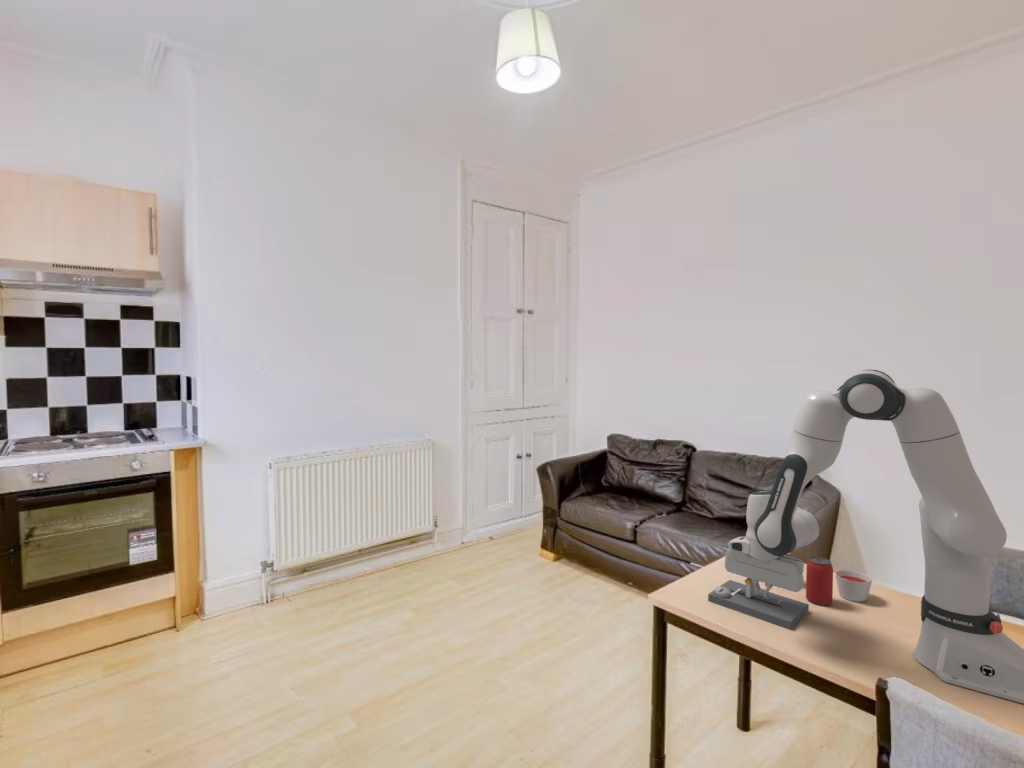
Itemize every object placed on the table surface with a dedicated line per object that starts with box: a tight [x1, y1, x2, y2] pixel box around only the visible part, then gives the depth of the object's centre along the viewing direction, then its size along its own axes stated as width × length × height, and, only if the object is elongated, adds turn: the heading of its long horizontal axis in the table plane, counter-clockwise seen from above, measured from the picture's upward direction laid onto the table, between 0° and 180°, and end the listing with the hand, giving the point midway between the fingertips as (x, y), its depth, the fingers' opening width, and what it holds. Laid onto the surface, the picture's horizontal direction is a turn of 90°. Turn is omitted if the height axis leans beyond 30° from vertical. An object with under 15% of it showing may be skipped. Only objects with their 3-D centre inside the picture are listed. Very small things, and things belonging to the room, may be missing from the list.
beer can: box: [805, 556, 834, 606], centre depth 148 cm, size 7×7×12 cm
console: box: [707, 579, 810, 630], centre depth 145 cm, size 22×14×4 cm, turn 43°
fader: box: [744, 577, 754, 598], centre depth 147 cm, size 2×4×5 cm, turn 133°
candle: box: [834, 569, 873, 603], centre depth 150 cm, size 9×9×6 cm
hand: (762, 596), depth 144 cm, fingers closed
